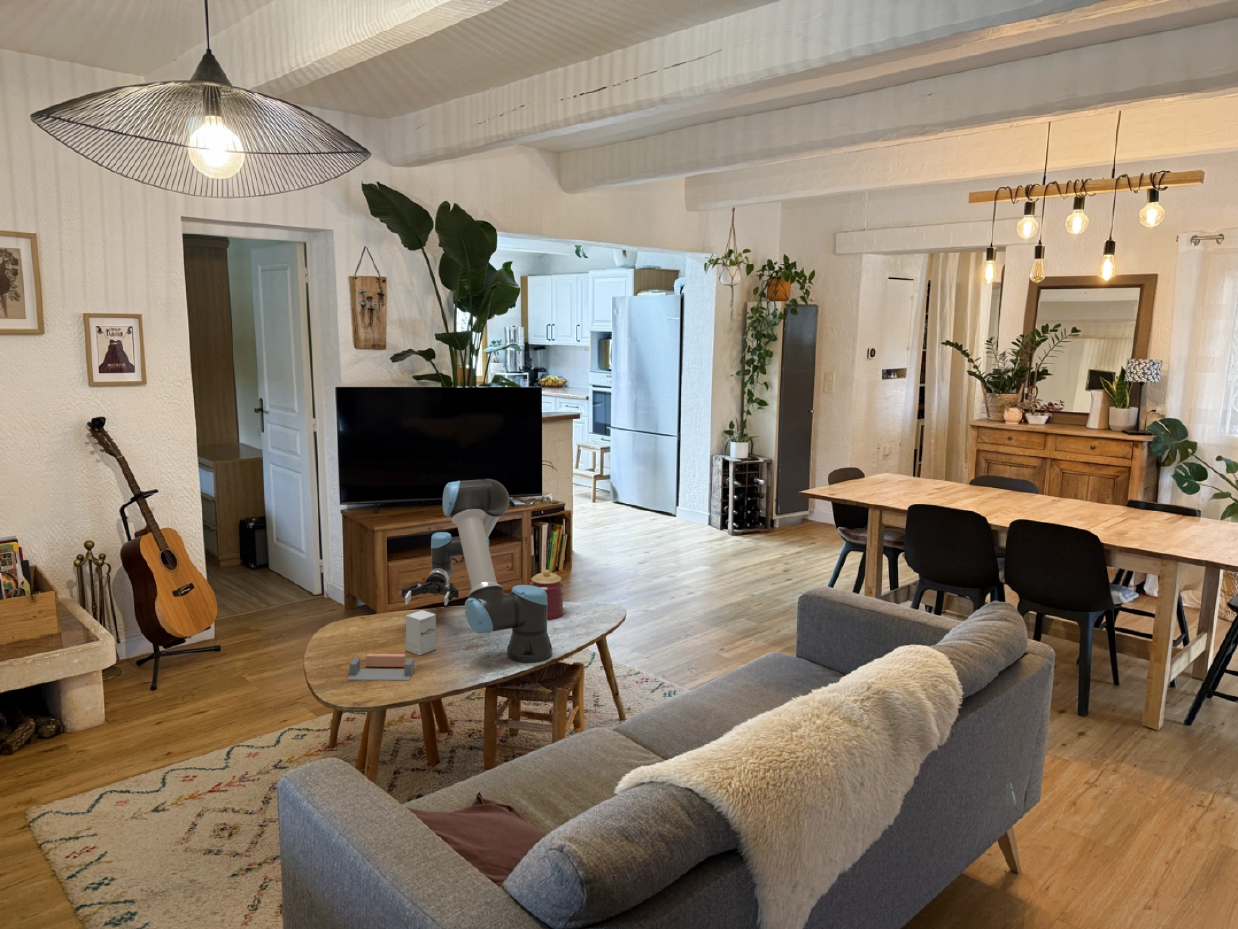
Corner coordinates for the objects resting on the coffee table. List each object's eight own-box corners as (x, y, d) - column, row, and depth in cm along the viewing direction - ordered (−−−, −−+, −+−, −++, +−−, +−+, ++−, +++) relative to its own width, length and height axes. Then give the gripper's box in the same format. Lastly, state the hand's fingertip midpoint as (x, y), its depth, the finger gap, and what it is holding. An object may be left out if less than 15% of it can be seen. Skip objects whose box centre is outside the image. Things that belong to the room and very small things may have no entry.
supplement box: (419, 656, 280) (419, 620, 277) (405, 650, 284) (404, 615, 282) (437, 649, 285) (436, 614, 283) (422, 644, 290) (422, 609, 288)
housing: (354, 669, 268) (353, 658, 267) (414, 670, 268) (414, 658, 268) (347, 680, 260) (346, 668, 259) (409, 680, 261) (408, 668, 260)
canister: (567, 610, 326) (567, 566, 323) (557, 621, 314) (557, 576, 311) (535, 607, 329) (535, 563, 326) (524, 618, 317) (524, 573, 314)
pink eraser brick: (368, 664, 271) (367, 653, 271) (405, 664, 272) (405, 654, 271) (366, 666, 269) (366, 656, 269) (404, 666, 270) (404, 656, 269)
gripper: (470, 591, 314) (461, 612, 294) (403, 590, 313) (389, 610, 293) (470, 572, 313) (461, 591, 292) (403, 571, 312) (389, 590, 291)
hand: (425, 601), depth 292 cm, fingers open, 13 cm apart
